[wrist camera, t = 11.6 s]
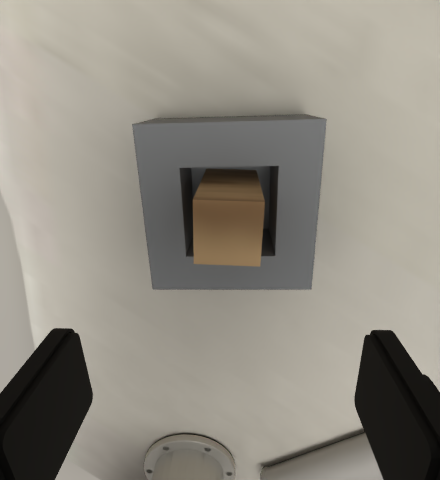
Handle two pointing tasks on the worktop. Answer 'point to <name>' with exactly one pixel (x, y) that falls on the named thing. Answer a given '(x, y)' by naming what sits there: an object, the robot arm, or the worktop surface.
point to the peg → (228, 218)
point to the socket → (231, 157)
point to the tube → (330, 463)
